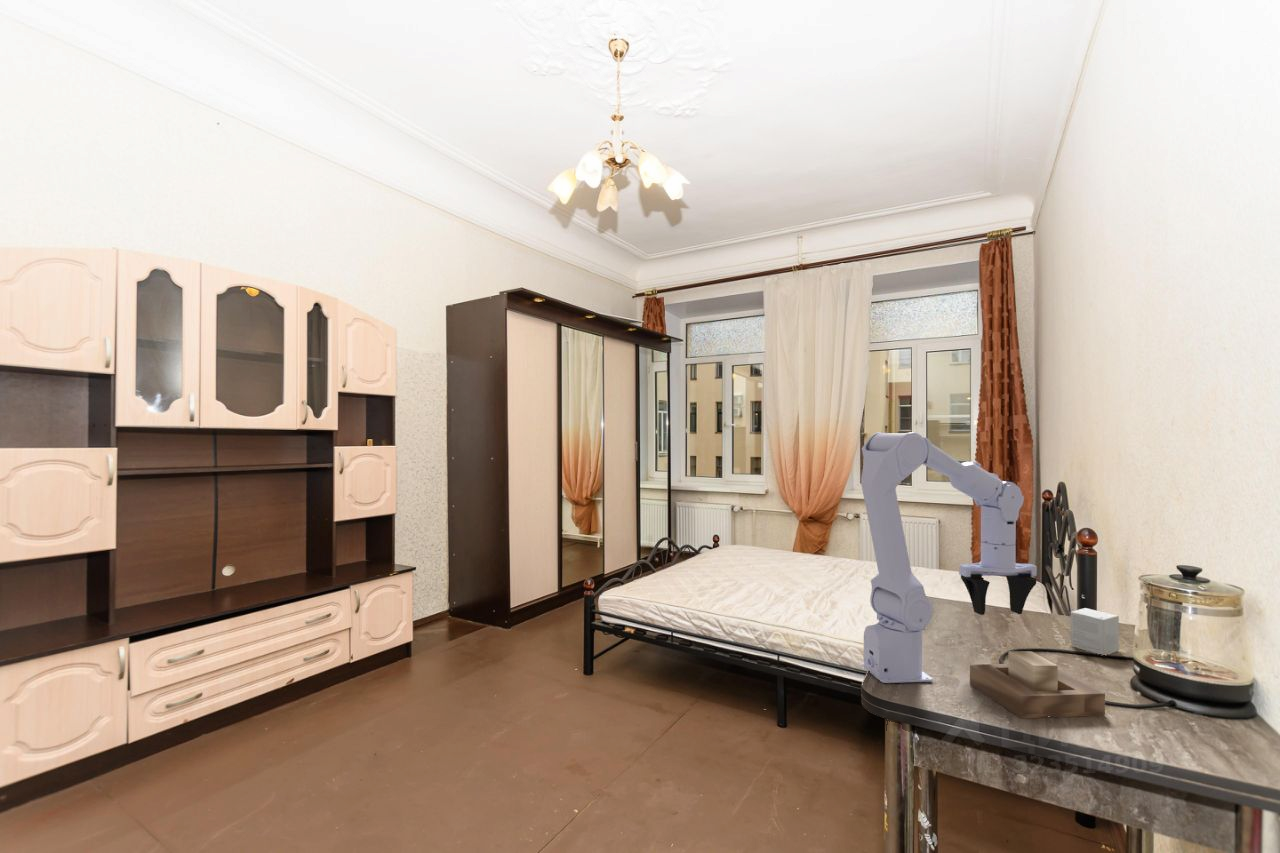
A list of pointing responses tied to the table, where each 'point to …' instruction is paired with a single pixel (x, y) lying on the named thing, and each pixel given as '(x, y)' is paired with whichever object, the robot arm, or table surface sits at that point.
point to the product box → (1095, 631)
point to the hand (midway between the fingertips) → (997, 612)
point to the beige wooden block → (1033, 671)
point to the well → (1037, 694)
